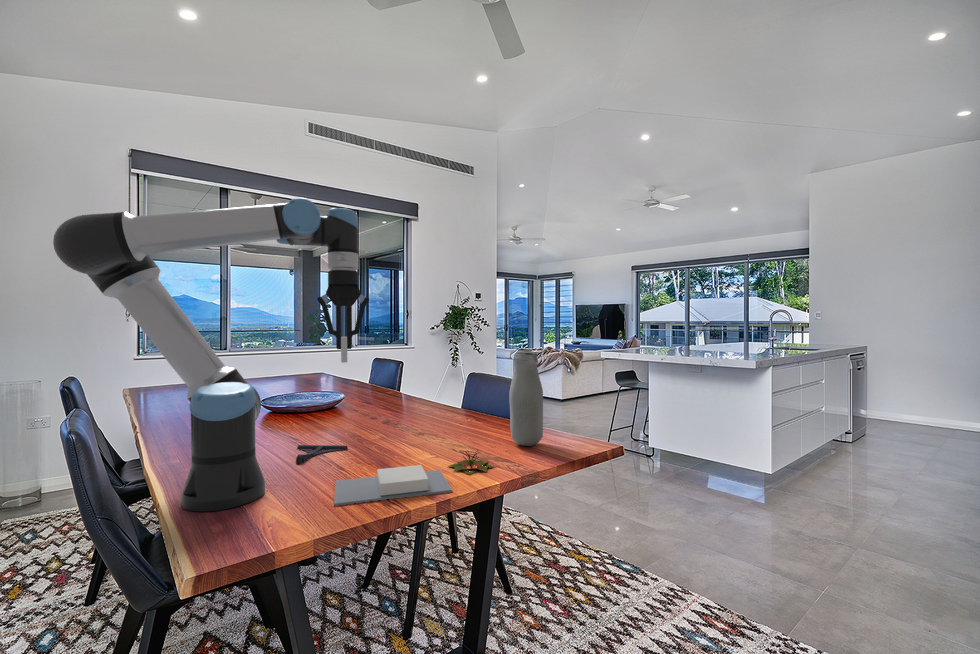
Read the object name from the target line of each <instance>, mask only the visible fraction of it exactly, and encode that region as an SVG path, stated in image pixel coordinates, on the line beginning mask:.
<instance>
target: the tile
mask: <svg viewBox="0 0 980 654" xmlns="http://www.w3.org/2000/svg"><path fill="white" fill-rule="evenodd" d="M376 476H377V481H378V487H379V492H380V496H388V495H397V494H405V493H414V492H422V491H426V490H428V477H427V475H426V473H425V469H424V467H423V466H422V464H417V465H408V466H406V465H405V466H397V467H395V466H394V467H385V468H378V469H376Z"/></svg>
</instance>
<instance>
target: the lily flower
mask: <svg viewBox="0 0 980 654" xmlns="http://www.w3.org/2000/svg"><path fill="white" fill-rule="evenodd" d="M464 452H465V456H466V457H465V456H464V455H462V458H464V459H463V460H460V461H457V463H453V464H450V465H448V467H450V468H454V470H453V473H454V472H458V471H461V470H462V471H463V472H464V473H465V474H467V475H472V474H473V473H475V472H478V470H479V471H481V472H482V471H483V472H484V473H485V472H486V473H488V470H487V468H488V467H489V468H488V469H490V468H496V466H494V465H492V464H486V463H489V462H488V461H484V460H478V459H479V458H480V457H479V456H478V454H479V453H481V451H479V449H477V450H475V453H474V454H472V456H471V453H470V451H468V450H467V451H466V450H465V451H464ZM474 465H475V466H474ZM482 465H483V466H482ZM476 466H477V468H476ZM485 466H486V467H485ZM468 467H469V468H470V467H471V468H473V467H475V468H476V469H477V470H476V469H474V470H475V471H473V470H471V471H472V472H471V471H470V470H468ZM466 469H467V470H468V471H467V470H466ZM469 471H470V472H469Z"/></svg>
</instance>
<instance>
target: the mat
mask: <svg viewBox="0 0 980 654" xmlns="http://www.w3.org/2000/svg"><path fill="white" fill-rule="evenodd" d="M424 471H425V470H424ZM425 473H426V475H427V477H428V490H426V491H422V492H414V493H405V494H397V495H388V496H380V492H379V487H378V481H377V475H376V476H369V477H368V476H367V477H359V478H349V479H337V480H335V486H334V487H335V489H334V498H333V506H334V507H337V506H338V507H339V506H346V504H348V505H353V504H354V503H356V504H362V502H365V503H371V502H370V501H373V502H379V501H378V500H381V501H387V500H386V499H390V500H395V499H394V498H398V499H403V498H402V497H407V498H414V496H415V497H423V496H422V495H424V496H430V495H439V494H448V493H452V492H453V489H452V487H451V485H450V484H449V483H448V481H447V479H446V477H445V476H444V474H443V472H442V471H441V469H435V470H426V471H425ZM354 505H355V504H354Z"/></svg>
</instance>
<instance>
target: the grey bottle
mask: <svg viewBox="0 0 980 654" xmlns="http://www.w3.org/2000/svg"><path fill="white" fill-rule="evenodd" d="M512 361H513V362H512V363H513V375H512V376H511V377H512V378H511V382H510V385H509V387H510V388H509V396H508V397H509V398H508V400H509V418H510V419H509V420H510V422H509V425H510V427H509V428H510V436H511V439H512V440H513V442H514V443H515V444H517V445H519V446H523V447H524V446H525V447H532V446H535V445H538V444H539V442H541V440H542V438H543V437H544V390H543V387H542V385H543V384H542V381H541V378H540V375H539V370H538V362H539V360H538V353H536V352H535V351H532V350H530V349H529V350H526V349H525V350H524V349H523V350H518V351H516V352H515V353H514V354H513V360H512Z"/></svg>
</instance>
